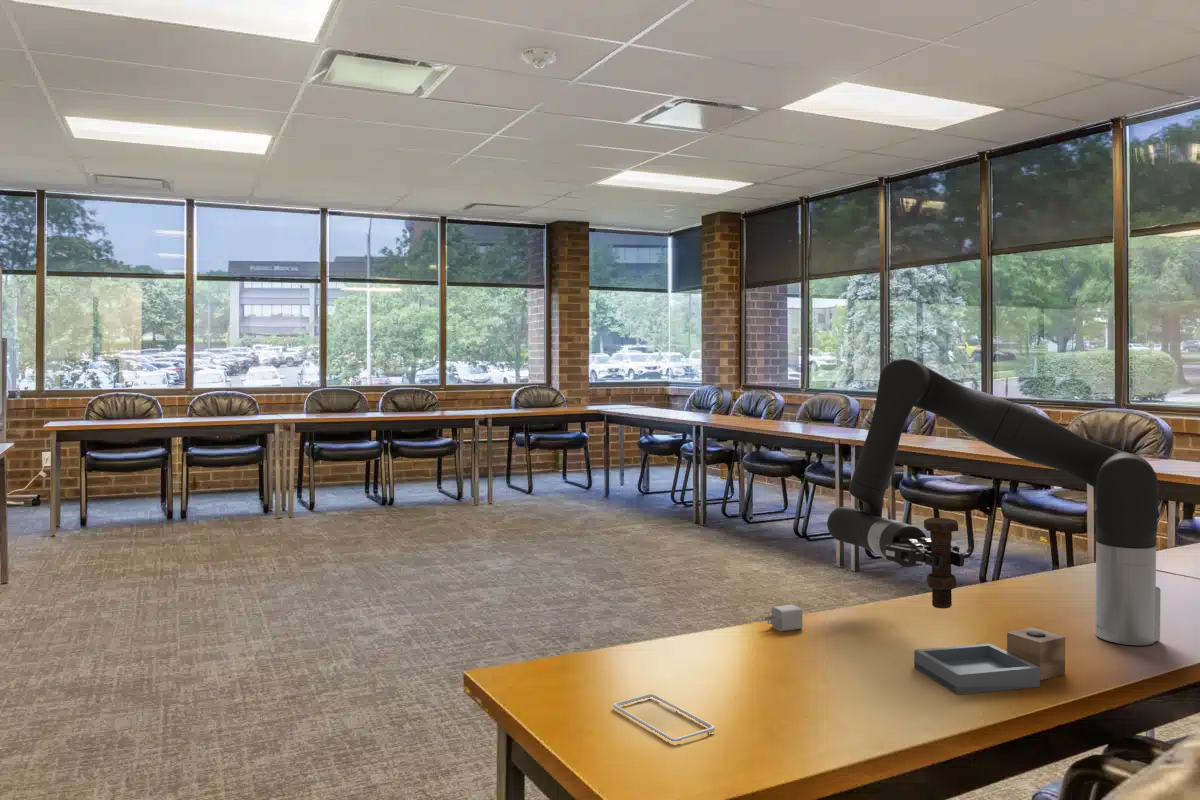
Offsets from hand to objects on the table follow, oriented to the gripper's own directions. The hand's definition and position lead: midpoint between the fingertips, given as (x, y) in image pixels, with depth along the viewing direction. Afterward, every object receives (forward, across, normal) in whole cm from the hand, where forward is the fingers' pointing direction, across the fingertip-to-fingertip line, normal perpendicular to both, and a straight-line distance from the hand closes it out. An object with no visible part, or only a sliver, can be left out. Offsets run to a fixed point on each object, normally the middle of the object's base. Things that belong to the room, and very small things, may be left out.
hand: (951, 561), depth 145 cm
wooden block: (+8, +10, +17) cm, 21 cm away
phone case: (+13, -54, +17) cm, 58 cm away
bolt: (-3, 0, +9) cm, 9 cm away
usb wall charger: (-23, -21, +17) cm, 35 cm away
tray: (+8, -1, +17) cm, 19 cm away
